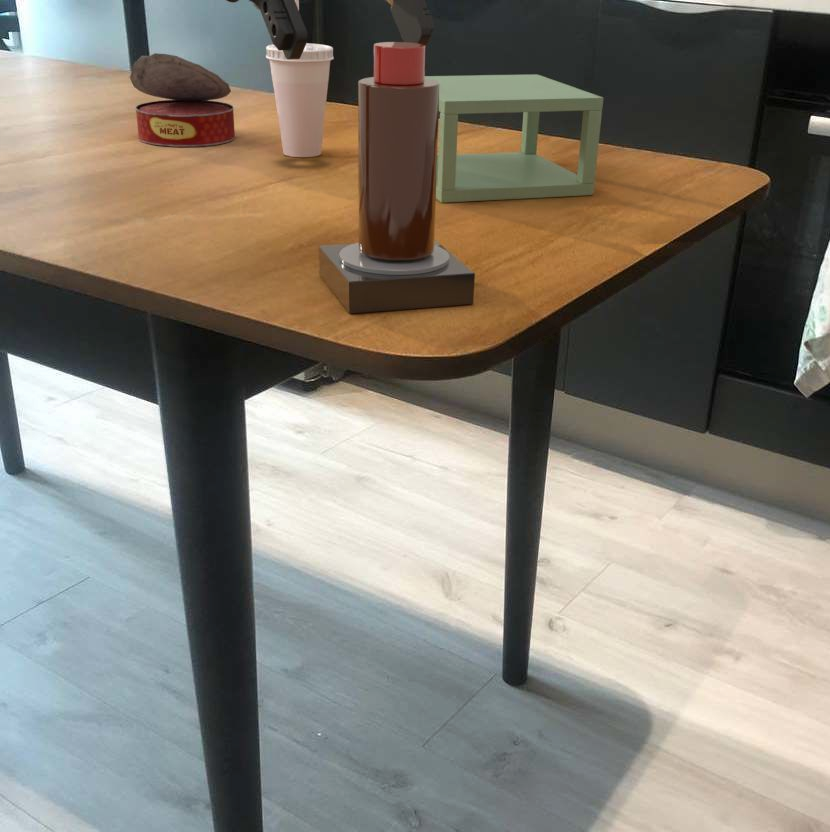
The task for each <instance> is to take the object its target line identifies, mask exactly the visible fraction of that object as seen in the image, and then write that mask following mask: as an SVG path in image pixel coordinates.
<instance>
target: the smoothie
mask: <svg viewBox="0 0 830 832" xmlns="http://www.w3.org/2000/svg"><path fill="white" fill-rule="evenodd" d="M295 2H296V5H297V8H298V10H299V11H300V0H295ZM265 51H266V54H265V58H266V59H267V60H268V61H269V65H270V72H271V80H272V86H273V92H274V93H273V94H274V100H275V106H276V113H277V120H278V126H279V134H280V139H281V145H282V152H283V155H285V156H287V157H294V158H315V157H318V156H321V155H322V149H323V138H324V130H325V129H324V127H325V118H326V108H327V99H328V97H327V95H328V88H329V80H330V67H331V61H332V60H334V59H335V57H334V47H333V46H330V45H326V44H320V43H308V42H307V43H306V46H305V48H304V50H303V53H302V55H301V57H300V59H290V60H288V59H286V57H285V55H284V52H283V50H278V49H277V48H276V47H275V45H274V44H273V43H272V44H268V45H267V46H265Z"/></svg>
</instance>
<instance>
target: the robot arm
mask: <svg viewBox="0 0 830 832" xmlns="http://www.w3.org/2000/svg"><path fill="white" fill-rule="evenodd" d="M226 1H227V2H228V3H237V2H239V1H240V0H226ZM248 1H249V2H251V4H252V5H253V7H255V8H256V9H257V10H259V12H260V13H261V16H262V18H263V22H264V24H265V27H266V29H267V32H268V34H269V38H270V40H271V42H272V44H274V45H275V47H276V48H277V49H278V50H283V52H284V55H285V57H286V59H288V60H290V59H300V57H301V55H302V53H303V50H304V48H305V46H306V43H308V30H307V28H306V25H305V23H304V21H303V18H302V16H301V13H300V9H299V10H298V8H297V5H296V2H295V0H248ZM385 2H387V3H388V4H389V5H390V8H389V10H390V13H391V14H392V18H393V20H394V22H395V25H396V27H397V30H398V32H399V35H400V37H401V39H402V42H408V43H418V44H423V45H425V47H426V46H427V45H428V43H429V40H430V39H431V38H432V37H431V36H432V33H433V32H434V30H435V23H434V19H433V17H432V15H431V12H430V10H429V8H428V4H427V3H426V1H425V0H385Z"/></svg>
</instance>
